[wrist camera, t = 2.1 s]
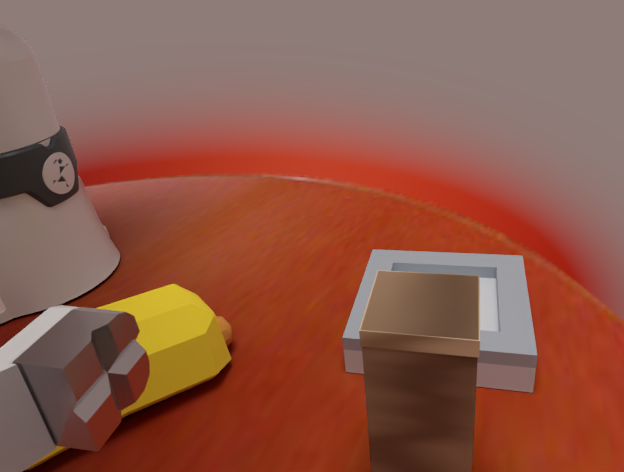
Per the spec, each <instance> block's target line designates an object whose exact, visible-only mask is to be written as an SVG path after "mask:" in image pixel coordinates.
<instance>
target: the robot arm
mask: <svg viewBox="0 0 624 472" xmlns="http://www.w3.org/2000/svg"><path fill="white" fill-rule="evenodd" d="M119 260H120V253H119V251H118V249H117V248H116V246H115V245H114V243H113V242H112V240H111V239H110V235H109V232H108V230H107V228H106V227H105V226H103V225H102V223H101V221H100V219H99V217H98V215H97V213H96V211H95V208H94V206H93V204H92V202H91V200H90V198H89V196H88V194H87V191H86V189H85V187H84V185H83V183H82V181H81V179H80V177H79V176H78V173H77V160H76V158H75V154H74V151H73V148H72V143H71V140H70V139H69V137H68V135H67V132H66V130H65V128H64V127H61V126H60V125H59V123H58V120H57V117H56V114H55V111H54V108H53V105H52V102H51V99H50V96H49V93H48V90H47V87H46V84H45V81H44V78H43V75H42V72H41V69H40V66H39V63H38V60H37V57H36V54H35V52H34V51H33V49H32V48H31V47H30V45H29V44H28V43H27V42H26V41H25V39H23V38H22V37H21V36H20V35H19V34H18V33H16V32H15V31H13V30H12V29H10V28H8V27H6V26H4V25H2V24H0V324H2V323H4V322H6V321H8V320H11V319H13V318H16V317H19V316H22V315H26V314H30V313H34V312H38V311H41V310H45V309H47V310H46V311H45V312H43V313H42V314H41V315H40V316H39V317H37V318H36V319H35V320H34V321H33V322H31V323H30V324H29V325H28V326H26V327H25V328H24V329H23V330H22V331H20V332H19V333H18V334H17V335H15V336H14V337H13V338H12V339H11V340H9V341H8V342H7V343H6V344H5V345H3V346H2V347H1V348H0V472H23V471H24V470H25V469H27V468H28V467H30V466H31V465H33V464H34V463H36V462H37V461H38V460H40V459H41V458H43V457H44V456H46V455H47V454H49V453H50V452H52V451H53V450H54V449H56V446H62V447H69V448H75V449H82V450H89V451H96V452H98V451H99V450H100V449H101V447H102V446H103V445H104V443H105V442H106V441H107V440H108V438H109V437H110V436H111V434H112V433H113V432H114V430H115V429H116V428H117V426H118V425H119V424H120V422H121V410H123V409H125V408H127V407H128V406H130V405H132V404H134V403H135V402H136V401H137V400H138V399H139V397H140V396H141V394H142V393H143V392H144V390H145V387H146V384H147V381H148V378H149V375H150V364H149V358H148V355H147V352H146V350H145V349H144V348H143V347H142V346H141V345H140V344H139V343H138V342H137V341H136V338H137V336H138V334H139V332H140V330H139V327H138V325H137V322H136V319H135V317H134V316H133V315H131V314H129V313H127V312H123V311H114V310H105V309H96V308H87V307H74V306H65V305H59V304H62V303H65V302H67V301H69V300H71V299H74V298H76V297H78V296H80V295H82V294H84V293H85V292H87V291H89V290H91V289H92V288H94V287H95V286H97V285H98V284H100V283H101V282H102V281H103V280H105V279H106V278H107V277H108V276H109V275H110V274H111V273H112V272H113V271H114V270H115V268H116V267H117V265H118V263H119ZM57 305H58V306H57Z"/></svg>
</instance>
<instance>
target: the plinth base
mask: <svg viewBox="0 0 624 472" xmlns="http://www.w3.org/2000/svg"><path fill="white" fill-rule="evenodd" d="M377 270H382V271H401V272H420V273H439V274H458V275H477V276H479V277H480V352H479V358H478V362H477V381H476V387H485V388H494V389H503V390H512V391H521V392H530V393H533V388H534V380H535V371H536V363H537V349H536V343H535V336H534V329H533V323H532V316H531V309H530V303H529V296H528V289H527V283H526V276H525V269H524V263H523V256H518V255H494V254H470V253H445V252H421V251H397V250H372V253H371V256H370V259H369V262H368V265H367V268H366V271H365V274H364V276H363V279H362V282H361V285H360V288H359V291H358V294H357V297H356V300H355V303H354V305H353V308H352V311H351V314H350V317H349V320H348V323H347V326H346V329H345V332H344V334H343V337H342V338H343V349H344V359H345V369H346V372H350V373H359V374H364V369H363V356H362V346H360V337H359V329H360V326H361V322H362V319H363V316H364V313H365V309H366V306H367V303H368V300H369V296H370V293H371V290H372V287H373V283H374V280H375V277H376V274H377Z"/></svg>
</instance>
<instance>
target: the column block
mask: <svg viewBox="0 0 624 472" xmlns="http://www.w3.org/2000/svg"><path fill="white" fill-rule="evenodd" d="M359 337H360V346H362V356H363V369H364V382H365V394H366V407H367V420H368V433H369V446H370V459H371V472H472V457H473V438H474V419H475V400H476V381H477V362H478V358H479V352H480V277H479V276H477V275H458V274H439V273H420V272H401V271H382V270H377V274H376V277H375V280H374V283H373V287H372V290H371V293H370V296H369V300H368V303H367V306H366V309H365V313H364V316H363V319H362V322H361V326H360V329H359Z"/></svg>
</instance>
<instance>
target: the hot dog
mask: <svg viewBox="0 0 624 472" xmlns="http://www.w3.org/2000/svg"><path fill="white" fill-rule="evenodd" d="M96 309H105V310H114V311H123V312H127V313H129V314H131V315H133V316H134V317H135V319H136V322H137V325H138V327H139V330H140V332H139V334H138V336H137V338H136V341H137V342H138V343H139V344H140V345H141V346H142V347H143V348H144V349H145V350H146V352H147V355H148V358H149V364H150V375H149V378H148V381H147V384H146V387H145V390H144V392H143V393H142V394H141V396H140V397H139V399H138V400H137V401H136V402H135V403H134V404H132V405H130V406H128V407H127V408H125V409H123V410H121V419H122V418H124V417H126V416H127V415H130V414H132V413H134V412H137V411H139V410H141V409H144V408H146V407H148V406H151V405H153V404H155V403H158V402H160V401H162V400H165V399H167V398H169V397H172V396H174V395H176V394H179V393H181V392H183V391H186V390H188V389H190V388H192V387H195V386H197V385H199V384H201V383H204V382H206V381H208V380H211V379H213V378H214V377H215V376H216V375H217V374H218V373H219V372H220V371H221V370H222V369H223V368H224V366H225V365H226V364H227V363H228V362H229V361H230V360H231V356H230V353H229V351H228V348H227V346H228V345H229V344H230V343H231V342H232V326H231V325H230V324H229V323H228V322H227V321H226V320H225V319H224V318H223V317H222V316H215V314H214V312H213V311H212V310H211V309H210V308H209V307H208V306H207V305H206V304H205V303H204V302H203V301H202V300H201V299H200V297H199V296H198V295H197V294H195V293H193V292H190V291H188V290H186V289H184V288H182V287H180V286H178V285H176V284H174V283H173V284H170V285H167V286H164V287H161V288H158V289H155V290H152V291H148V292H145V293H142V294H139V295H136V296H133V297H130V298H126V299H123V300H120V301H117V302H114V303H111V304H108V305H104V306H101V307H98V308H96ZM67 449H69V447H62V446H56V449H54V450H53V451H52V452H50V453H49V454H47V455H46V456H44V457H43V458H41V459H40V460H38V461H37V462H36V463H34V464H33V465H31V466H30V467H28V468H27V469H25V470H31V469H33V468H34V467H36V466H38V465H40V464H42V463H44V462H45V461H47V460H49V459H51V458H53V457H54V456H56V455H58V454H60V453H62V452H63V451H65V450H67ZM25 470H24V471H25Z"/></svg>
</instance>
